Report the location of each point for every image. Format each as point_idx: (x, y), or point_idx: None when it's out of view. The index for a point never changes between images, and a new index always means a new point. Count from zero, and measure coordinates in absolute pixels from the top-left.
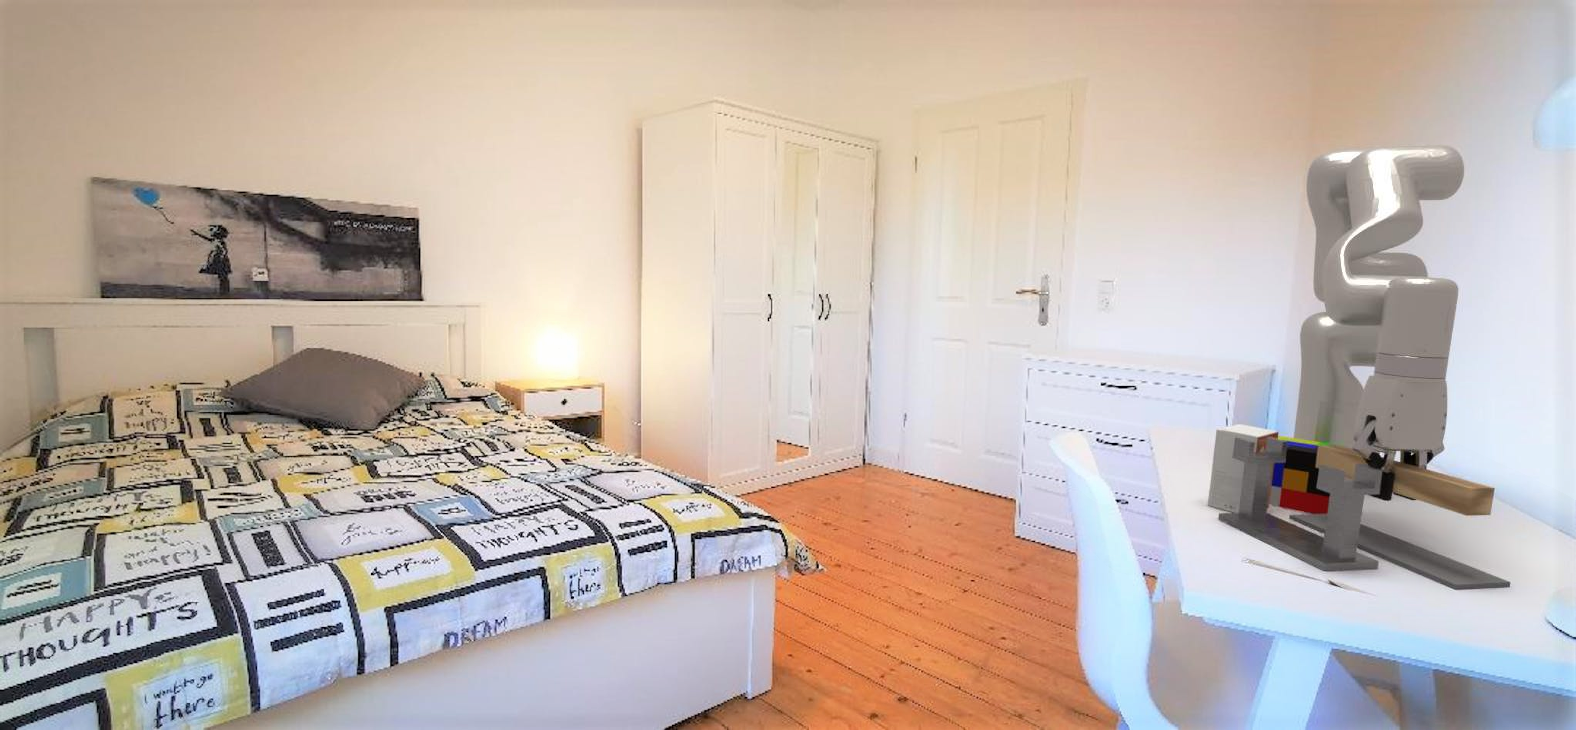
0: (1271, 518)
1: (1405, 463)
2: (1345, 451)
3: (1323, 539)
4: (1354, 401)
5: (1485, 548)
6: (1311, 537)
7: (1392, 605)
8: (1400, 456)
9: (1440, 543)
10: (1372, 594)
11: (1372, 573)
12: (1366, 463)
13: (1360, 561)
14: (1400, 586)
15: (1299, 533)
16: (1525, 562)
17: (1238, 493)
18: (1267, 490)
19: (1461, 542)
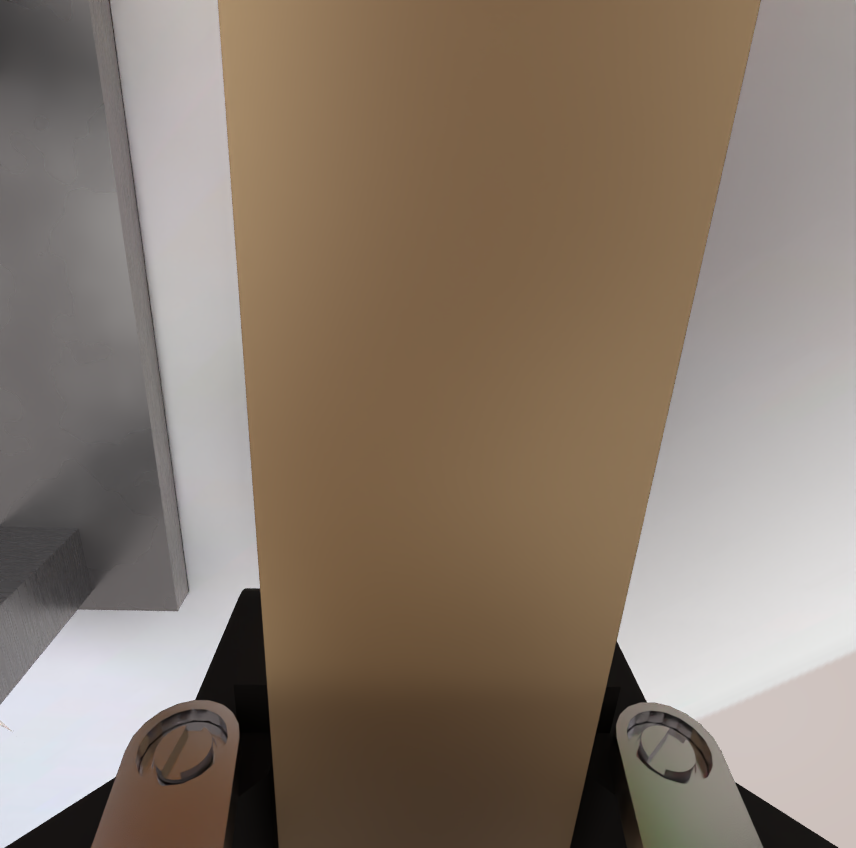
0: (37, 57)
1: (604, 806)
2: (352, 211)
3: (120, 402)
4: None
5: (841, 490)
6: (77, 372)
7: (13, 770)
8: (643, 831)
9: (726, 426)
10: (1, 725)
11: (135, 616)
12: (125, 754)
13: (101, 604)
14: (148, 692)
15: (50, 315)
16: (803, 603)
17: None
18: None
19: (832, 428)
